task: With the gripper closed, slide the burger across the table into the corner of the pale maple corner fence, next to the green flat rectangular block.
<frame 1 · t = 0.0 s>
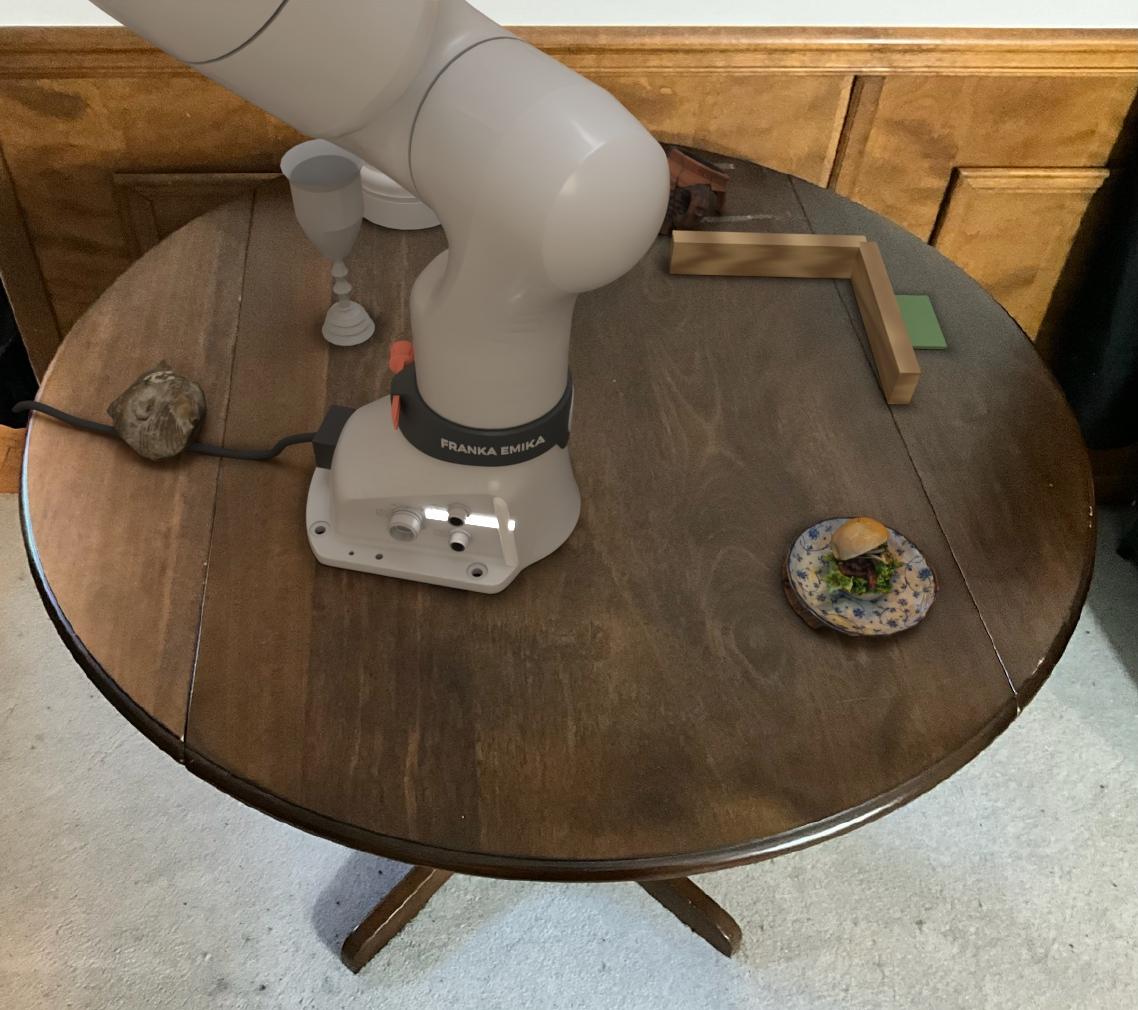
green flat rectangular block: (911, 322, 105), on the table
coffee cup: (554, 266, 109), on the table
fossilized seashell: (167, 429, 91), on the table
honey pot: (411, 197, 116), on the table
burger: (855, 587, 83), on the table
corner fence: (849, 278, 109), on the table
chalice: (348, 330, 101), on the table
pottery mug: (680, 220, 115), on the table
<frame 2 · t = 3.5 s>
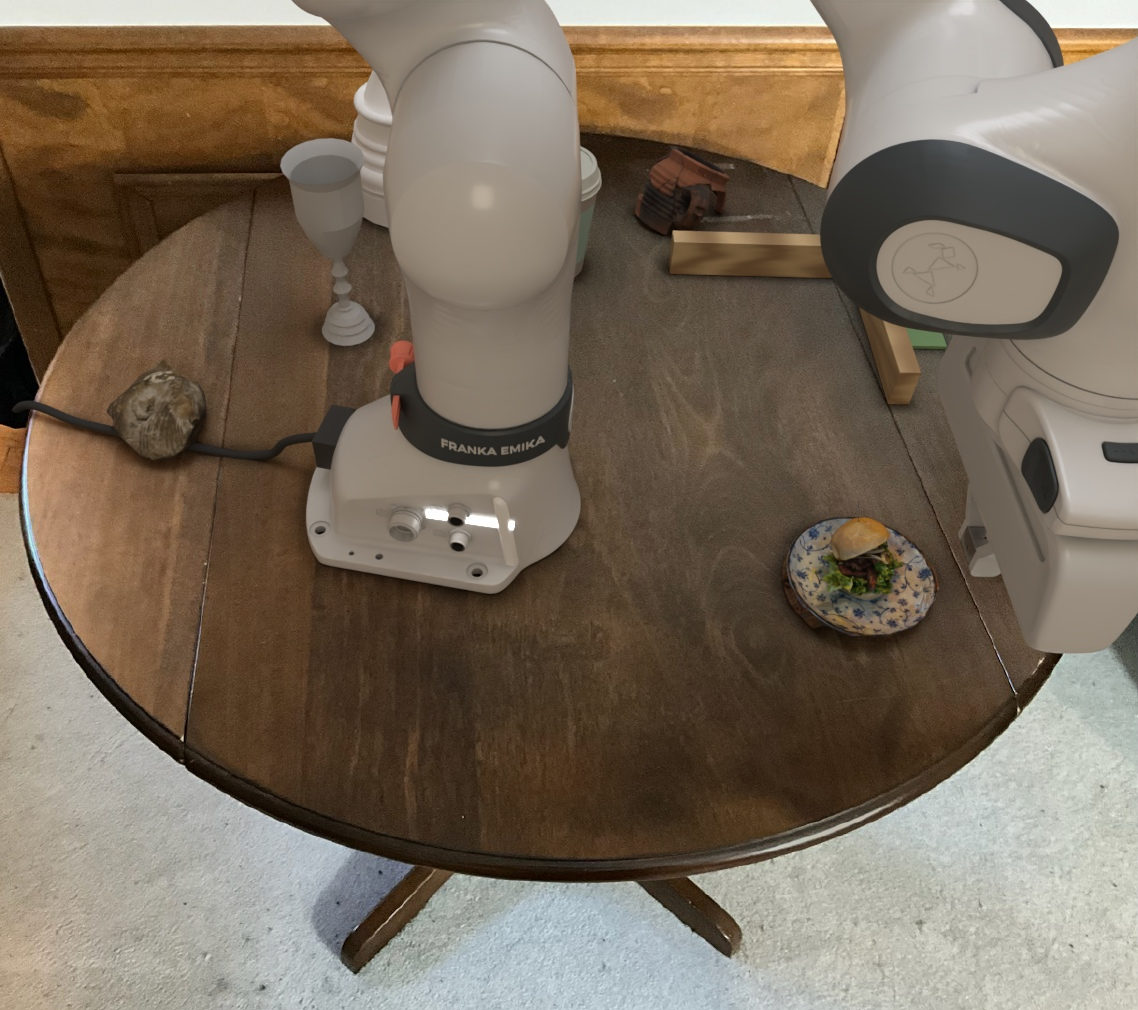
hand: (976, 557, 60), 19 cm above the table, tool pointing down, fingers closed
nothing on the table moved.
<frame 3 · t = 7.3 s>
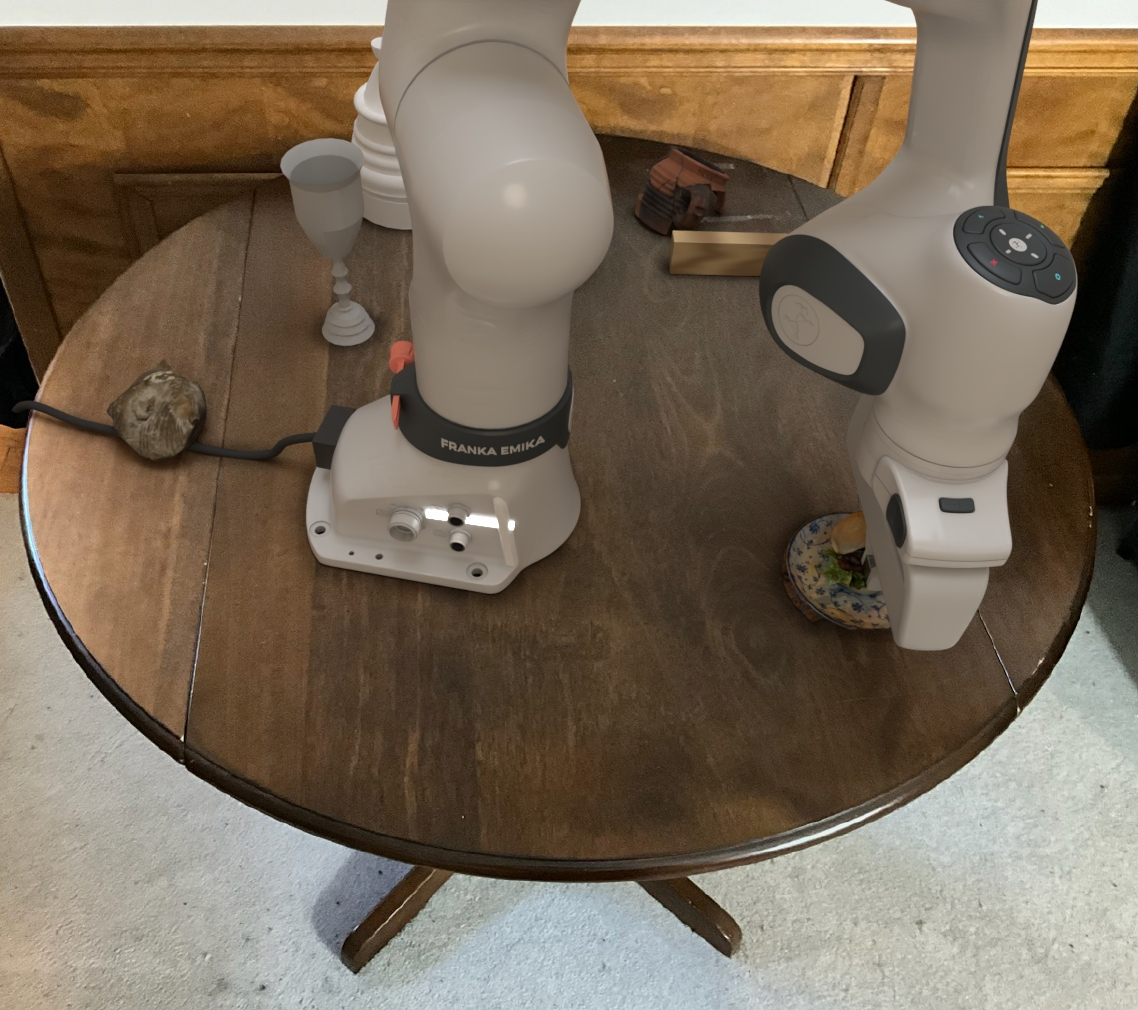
hand: (874, 576, 78), 4 cm above the table, tool pointing down, fingers closed
burger: (855, 581, 83), on the table, touching gripper
everything else where it was.
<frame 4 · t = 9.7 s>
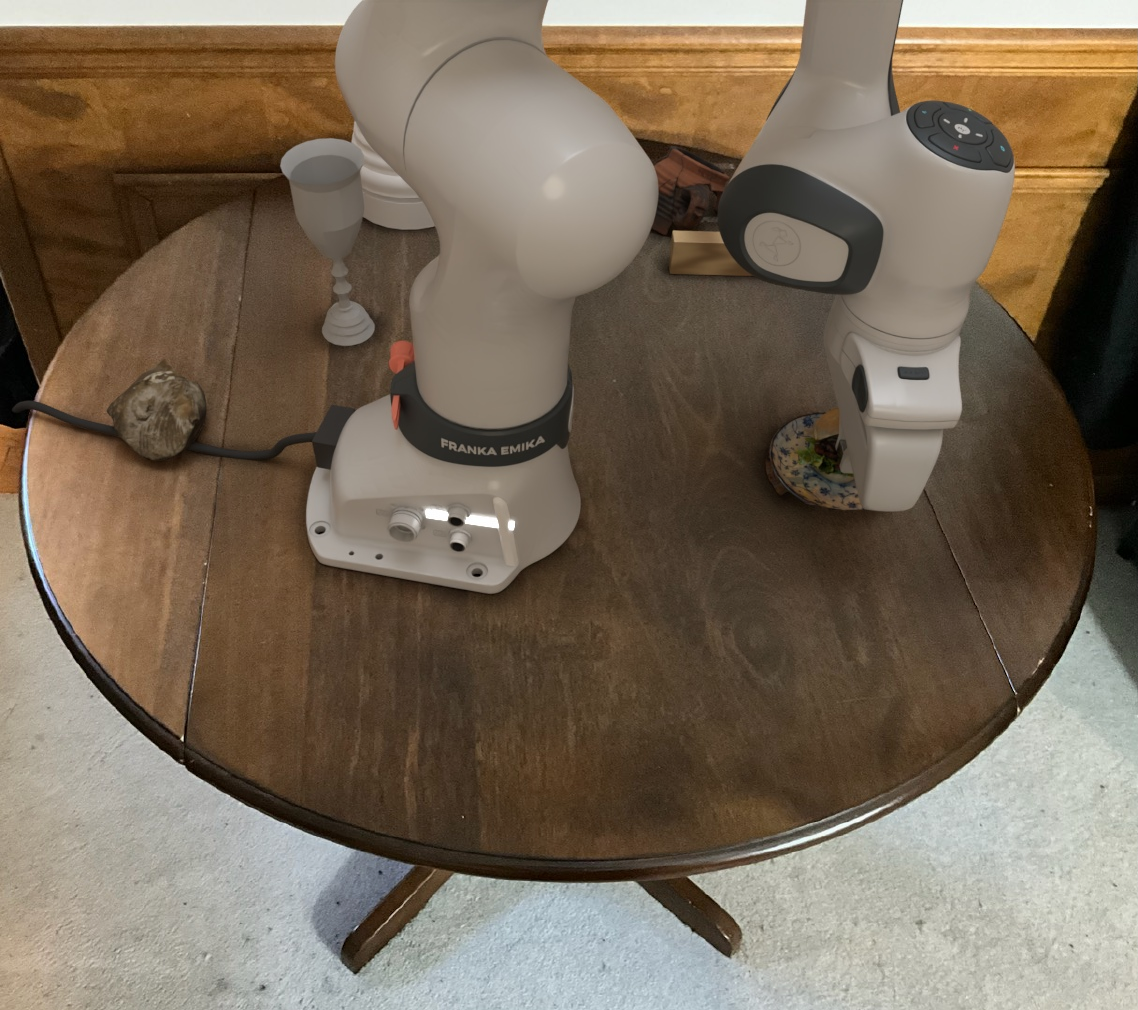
hand: (847, 461, 86), 4 cm above the table, tool pointing down, fingers closed
burger: (833, 474, 91), on the table, touching gripper
everything else where it was.
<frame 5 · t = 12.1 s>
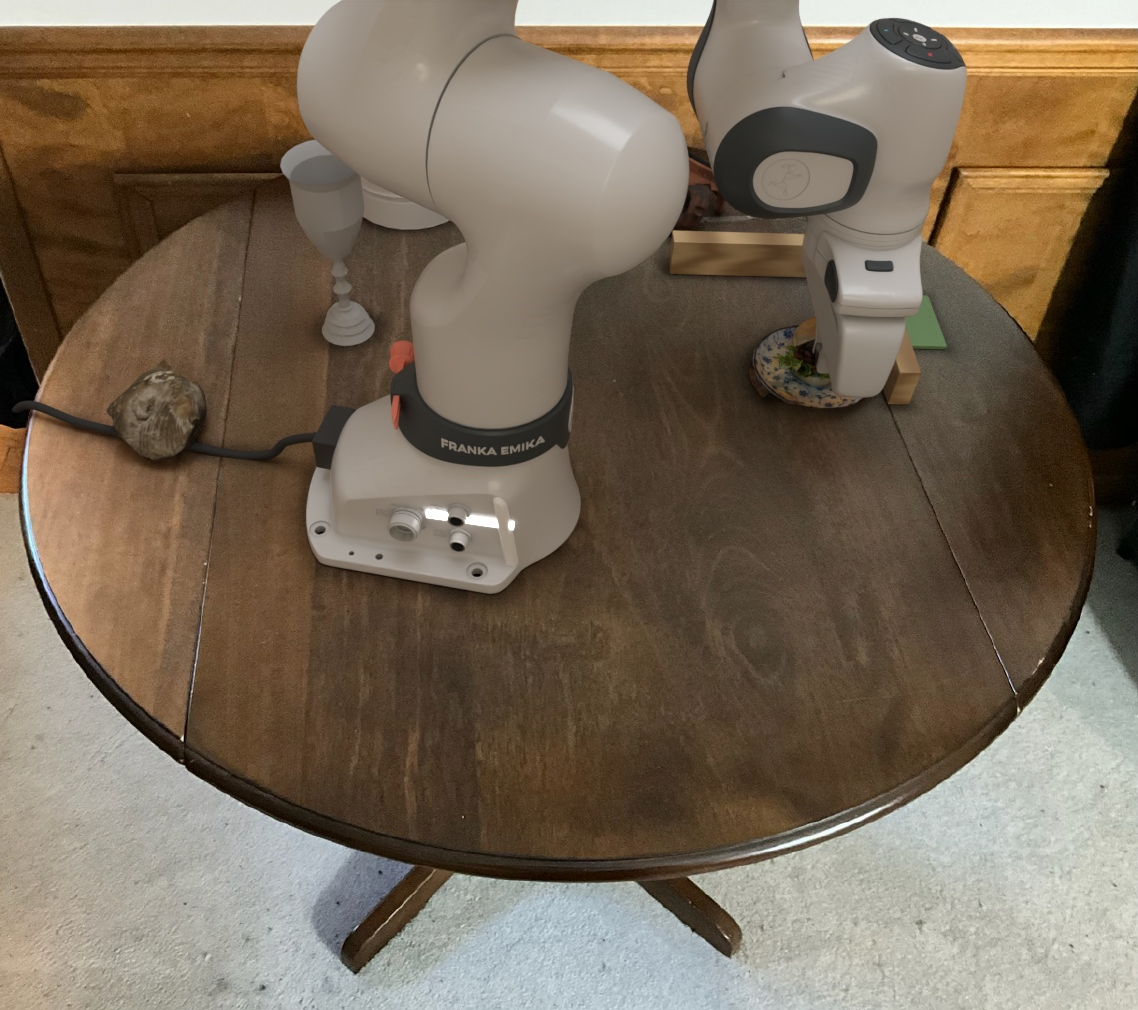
hand: (823, 363, 94), 4 cm above the table, tool pointing down, fingers closed
burger: (811, 380, 99), on the table, touching gripper
everything else where it was.
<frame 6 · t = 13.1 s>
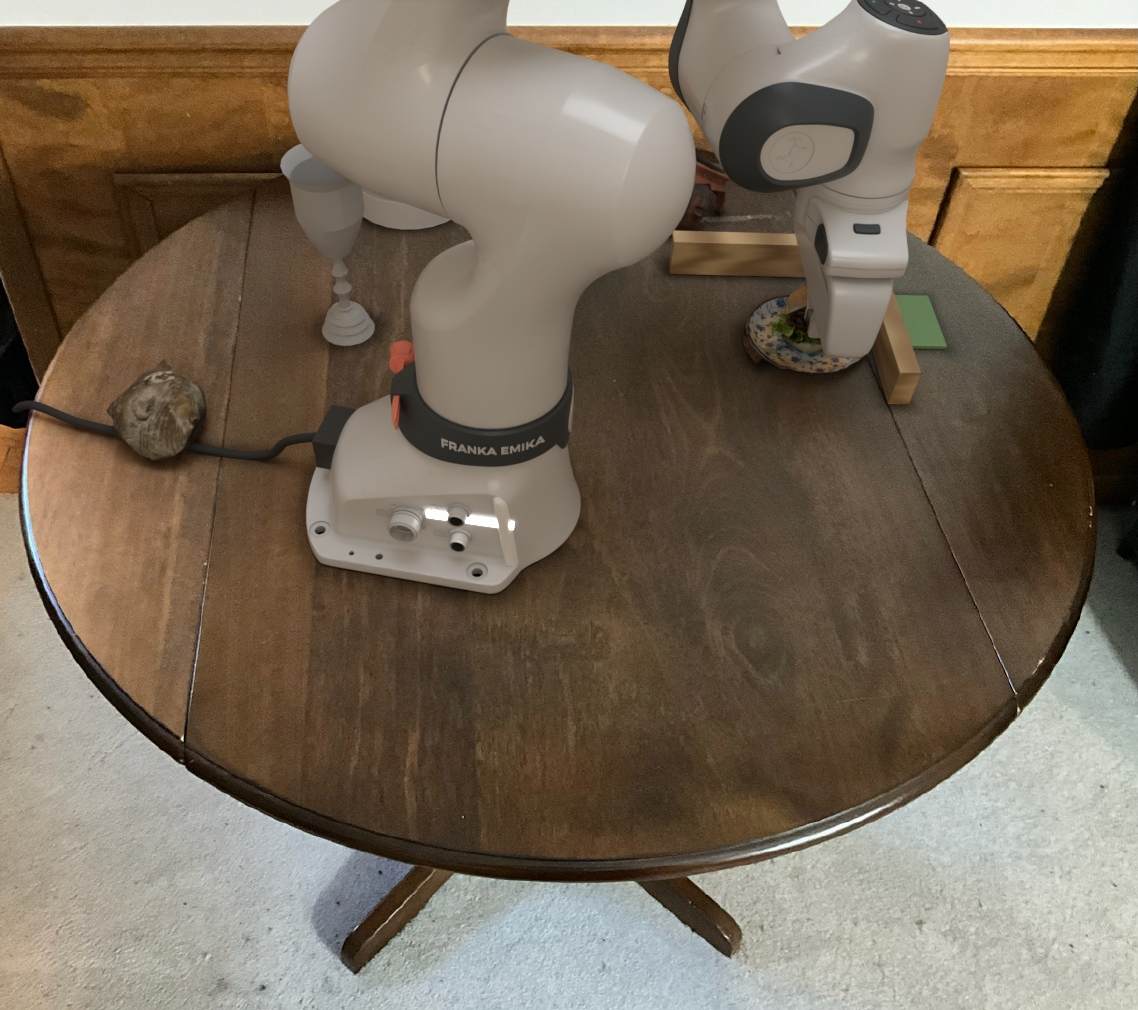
hand: (814, 329, 97), 4 cm above the table, tool pointing down, fingers closed
burger: (803, 347, 102), on the table, touching gripper
everything else where it was.
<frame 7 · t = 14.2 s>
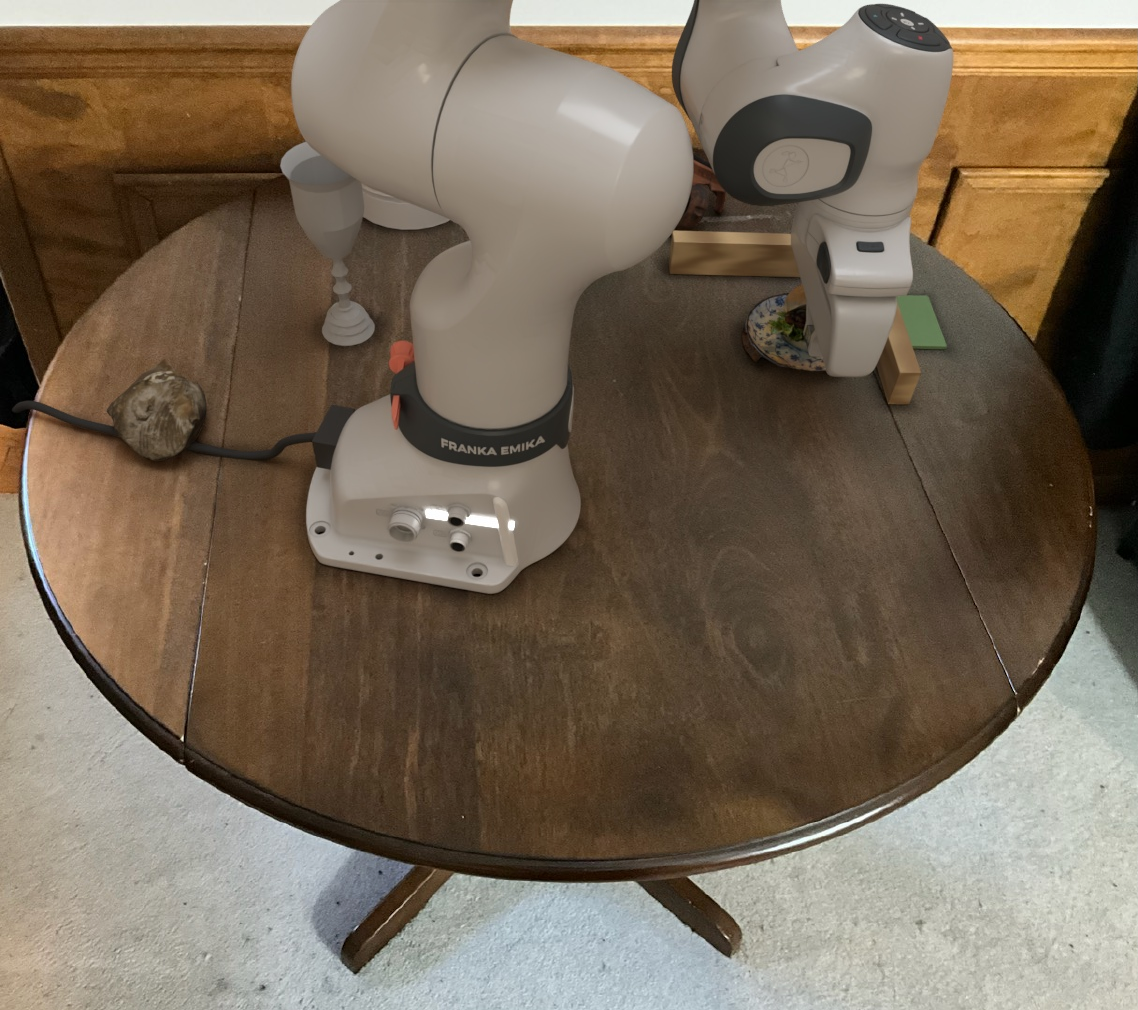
hand: (814, 346, 96), 4 cm above the table, tool pointing down, fingers closed
burger: (802, 345, 102), on the table
everything else where it was.
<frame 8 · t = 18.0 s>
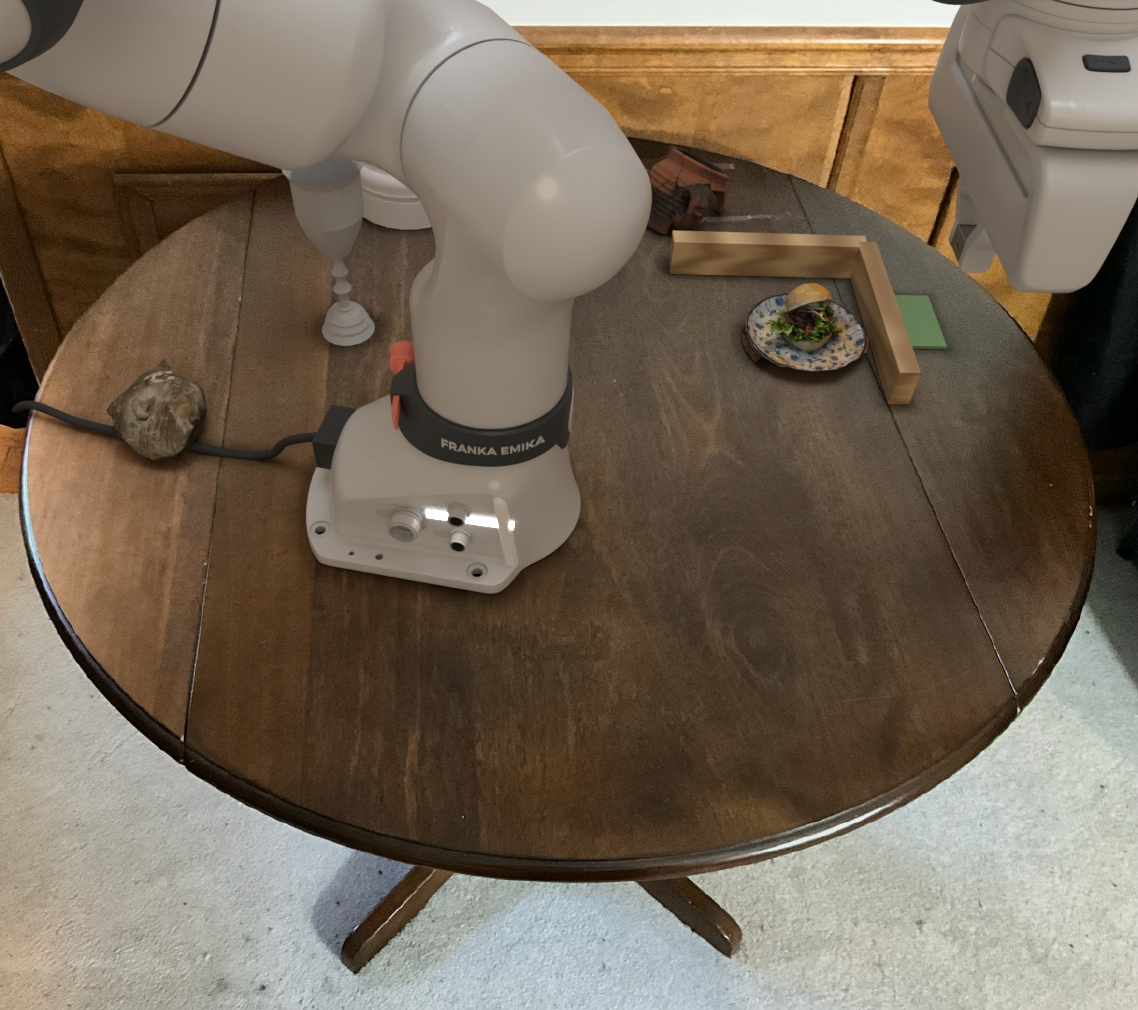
hand: (966, 258, 63), 29 cm above the table, tool pointing down, fingers closed
nothing on the table moved.
at the end: burger inside the target area on the corner fence (3.0 cm from its centre), point 0.0 cm above the corner fence's base; burger tilted 0° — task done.
